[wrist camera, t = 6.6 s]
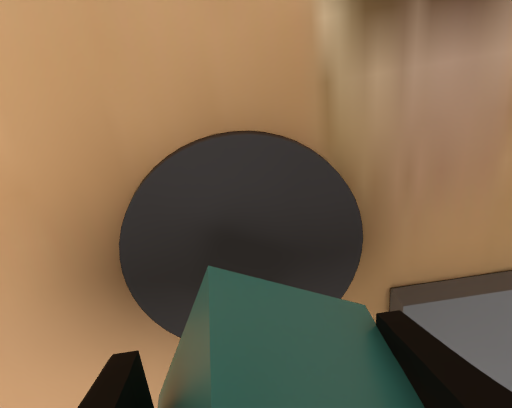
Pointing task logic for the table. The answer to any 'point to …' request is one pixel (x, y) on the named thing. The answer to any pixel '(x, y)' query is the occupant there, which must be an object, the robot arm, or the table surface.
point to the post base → (466, 318)
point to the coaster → (238, 222)
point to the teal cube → (280, 351)
